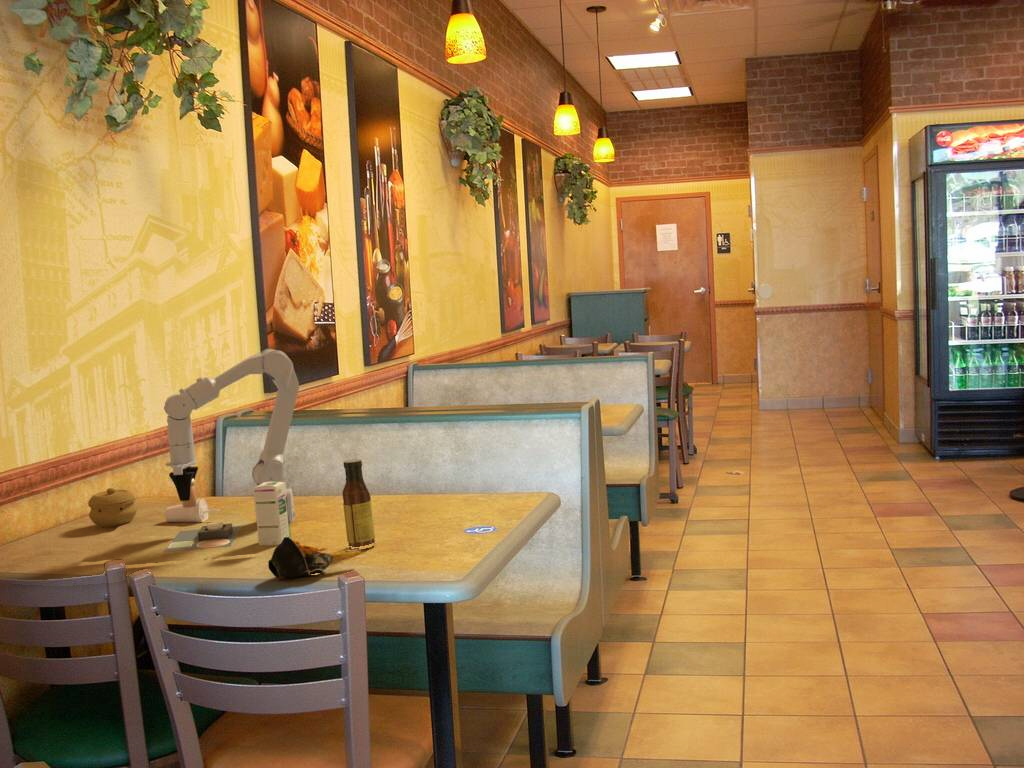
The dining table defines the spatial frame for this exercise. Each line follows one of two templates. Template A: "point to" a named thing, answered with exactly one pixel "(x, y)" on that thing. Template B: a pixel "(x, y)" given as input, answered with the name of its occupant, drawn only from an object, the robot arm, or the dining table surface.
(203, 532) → the button collar
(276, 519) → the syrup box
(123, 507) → the pot
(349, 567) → the dining table surface
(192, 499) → the terracotta marker
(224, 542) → the picture board
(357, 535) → the sauce bottle
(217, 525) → the button
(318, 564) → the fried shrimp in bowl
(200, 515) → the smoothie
